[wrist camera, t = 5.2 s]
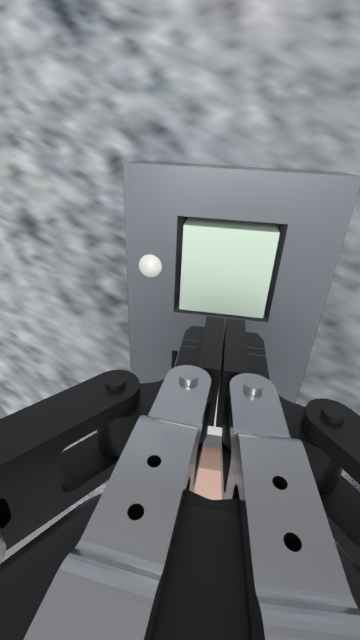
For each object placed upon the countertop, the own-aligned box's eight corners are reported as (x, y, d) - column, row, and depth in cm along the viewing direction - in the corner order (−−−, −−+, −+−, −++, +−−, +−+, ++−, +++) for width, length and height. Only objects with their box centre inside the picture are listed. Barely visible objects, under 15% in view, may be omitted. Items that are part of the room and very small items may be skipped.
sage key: (273, 221, 19) (279, 232, 17) (259, 298, 22) (263, 318, 19) (189, 215, 20) (183, 225, 17) (185, 290, 22) (179, 309, 20)
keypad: (343, 172, 18) (364, 176, 15) (258, 487, 32) (260, 520, 29) (138, 160, 19) (122, 162, 16) (143, 468, 33) (134, 497, 30)
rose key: (235, 442, 27) (235, 473, 24) (228, 480, 29) (227, 512, 27) (175, 432, 27) (168, 462, 25) (173, 471, 30) (167, 502, 27)
